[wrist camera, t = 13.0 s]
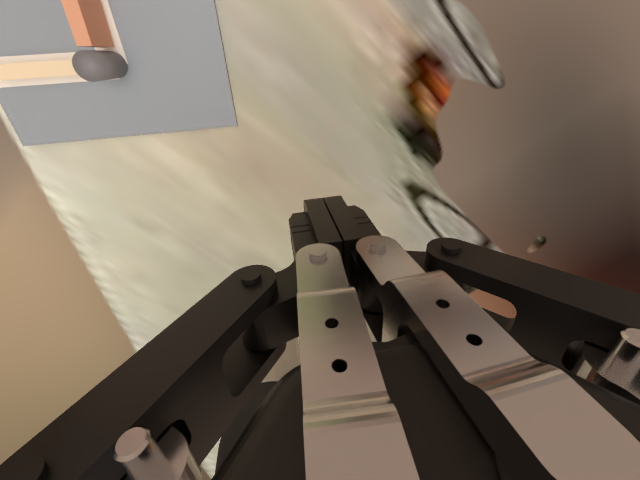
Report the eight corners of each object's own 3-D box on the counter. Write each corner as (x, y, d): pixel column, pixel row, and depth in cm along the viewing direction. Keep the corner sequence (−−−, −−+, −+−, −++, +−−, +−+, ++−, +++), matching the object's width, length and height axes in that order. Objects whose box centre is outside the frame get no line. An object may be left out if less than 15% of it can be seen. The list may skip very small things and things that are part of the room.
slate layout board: (237, 125, 37) (234, 136, 32) (26, 144, 35) (-18, 161, 29) (198, -84, 28) (184, -119, 23) (-94, -80, 25) (-191, -118, 20)
